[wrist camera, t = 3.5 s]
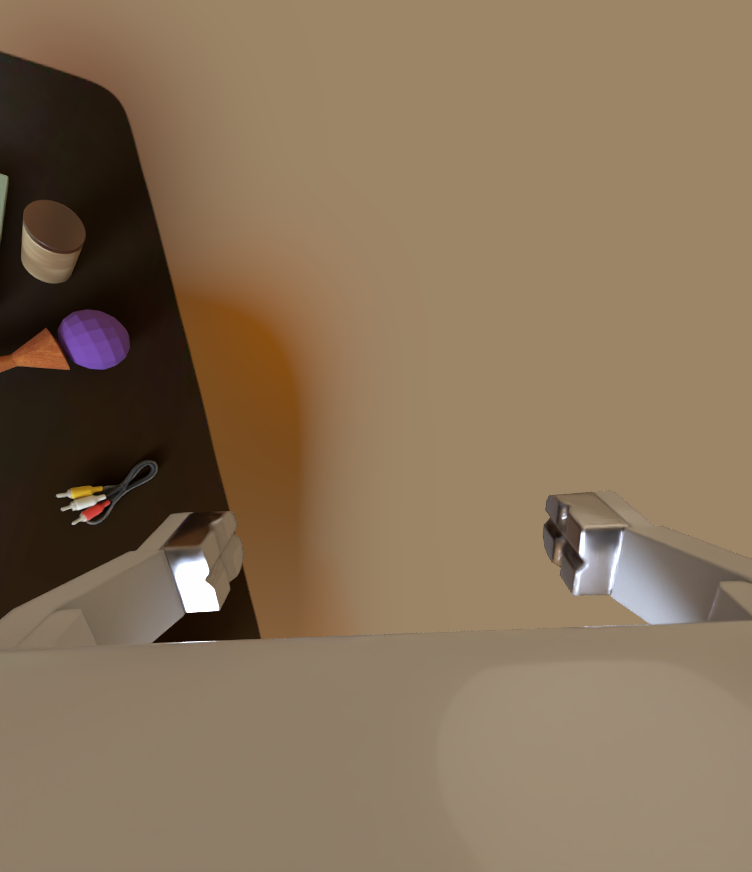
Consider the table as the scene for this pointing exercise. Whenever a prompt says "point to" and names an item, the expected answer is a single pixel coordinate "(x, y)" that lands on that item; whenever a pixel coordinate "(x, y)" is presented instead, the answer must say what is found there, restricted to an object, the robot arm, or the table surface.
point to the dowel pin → (51, 240)
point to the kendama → (74, 344)
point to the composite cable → (104, 494)
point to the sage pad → (3, 199)
